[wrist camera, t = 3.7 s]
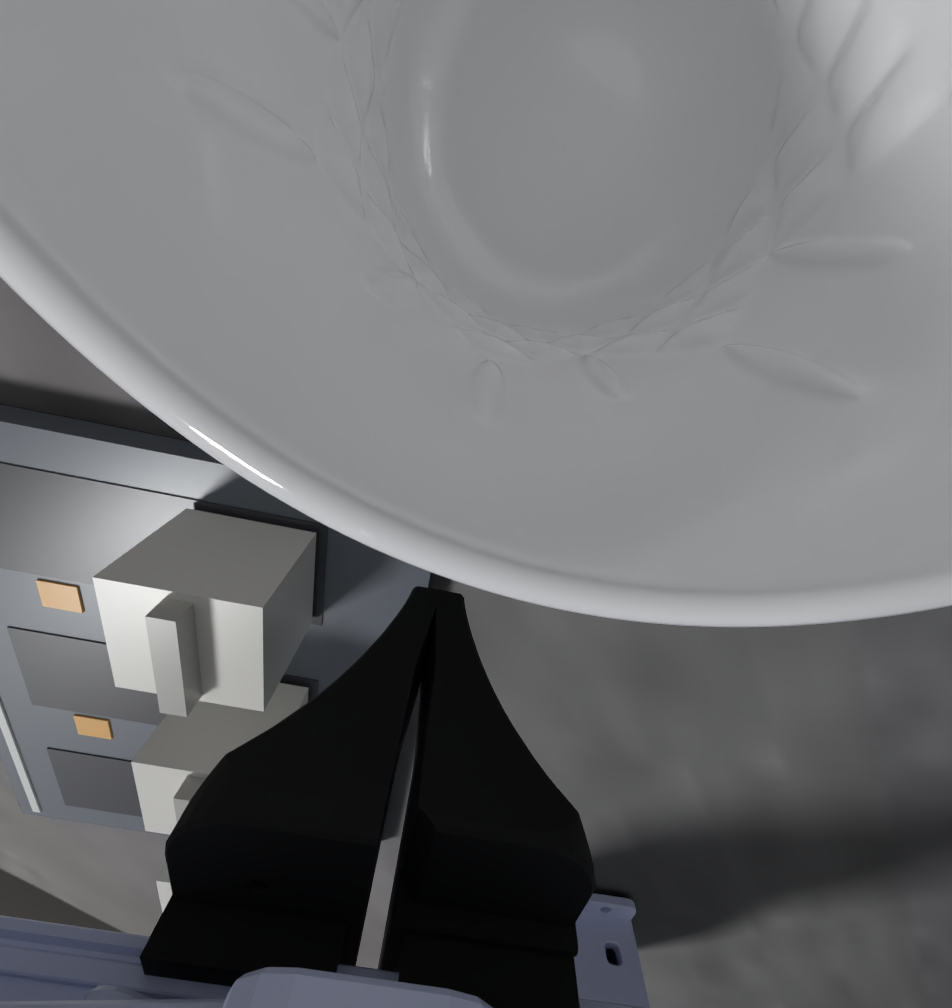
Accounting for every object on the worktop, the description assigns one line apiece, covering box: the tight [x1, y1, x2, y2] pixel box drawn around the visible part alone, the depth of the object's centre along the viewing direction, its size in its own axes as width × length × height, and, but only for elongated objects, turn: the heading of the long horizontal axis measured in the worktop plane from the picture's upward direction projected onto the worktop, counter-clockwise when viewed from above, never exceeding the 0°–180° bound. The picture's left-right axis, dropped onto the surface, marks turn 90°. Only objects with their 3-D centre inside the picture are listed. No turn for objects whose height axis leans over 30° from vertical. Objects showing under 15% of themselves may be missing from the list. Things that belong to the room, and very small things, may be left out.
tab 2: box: [131, 683, 309, 835], centre depth 14 cm, size 4×3×4 cm
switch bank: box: [0, 404, 431, 864], centre depth 16 cm, size 15×18×1 cm
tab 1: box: [92, 508, 316, 717], centre depth 11 cm, size 4×3×4 cm
